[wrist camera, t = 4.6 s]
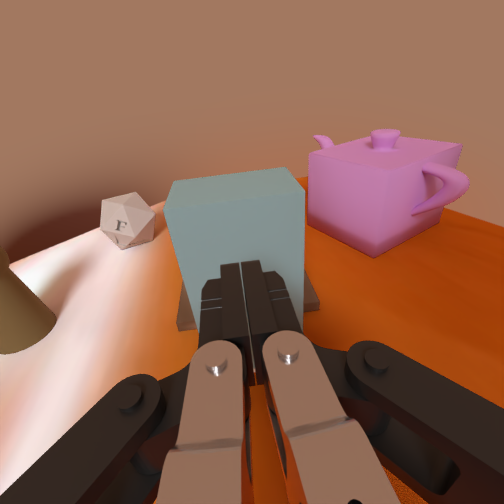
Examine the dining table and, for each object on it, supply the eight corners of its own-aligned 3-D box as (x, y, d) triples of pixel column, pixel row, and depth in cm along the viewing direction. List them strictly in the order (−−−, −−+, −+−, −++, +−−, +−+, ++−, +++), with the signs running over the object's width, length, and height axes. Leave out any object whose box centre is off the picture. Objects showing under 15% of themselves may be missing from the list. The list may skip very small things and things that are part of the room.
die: (99, 250, 46) (80, 222, 37) (118, 208, 50) (105, 174, 41) (149, 261, 47) (141, 236, 38) (164, 220, 51) (160, 188, 42)
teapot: (339, 190, 57) (345, 116, 49) (474, 235, 39) (517, 127, 31) (281, 211, 51) (278, 130, 43) (409, 277, 33) (442, 156, 25)
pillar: (289, 321, 28) (285, 166, 20) (302, 364, 24) (305, 191, 15) (212, 333, 28) (173, 181, 19) (212, 379, 24) (162, 209, 15)
